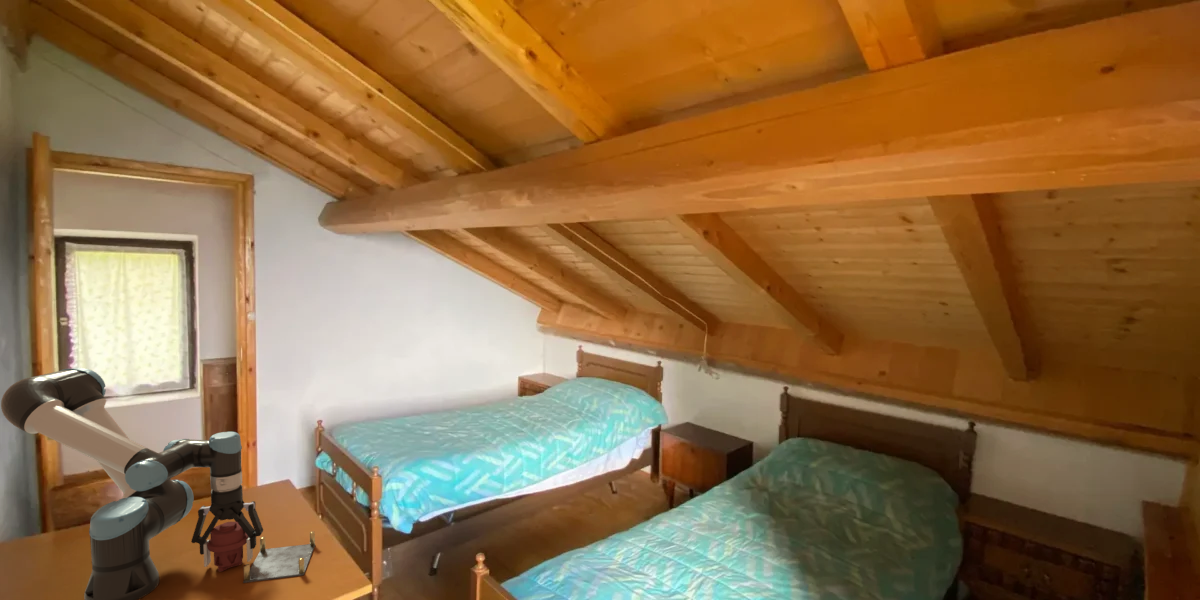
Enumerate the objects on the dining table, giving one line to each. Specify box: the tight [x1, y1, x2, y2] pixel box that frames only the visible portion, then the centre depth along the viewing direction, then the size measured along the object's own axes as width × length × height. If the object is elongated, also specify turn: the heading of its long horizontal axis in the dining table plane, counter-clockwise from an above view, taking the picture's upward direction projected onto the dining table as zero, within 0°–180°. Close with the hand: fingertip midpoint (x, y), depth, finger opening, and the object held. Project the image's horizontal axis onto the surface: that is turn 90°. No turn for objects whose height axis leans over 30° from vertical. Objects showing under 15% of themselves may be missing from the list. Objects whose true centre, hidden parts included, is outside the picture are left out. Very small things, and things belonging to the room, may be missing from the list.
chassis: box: [243, 530, 316, 584], centre depth 165 cm, size 15×17×4 cm
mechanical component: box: [207, 521, 248, 573], centre depth 163 cm, size 12×10×10 cm
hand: (228, 561), depth 163 cm, fingers closed on mechanical component, 10 cm apart
